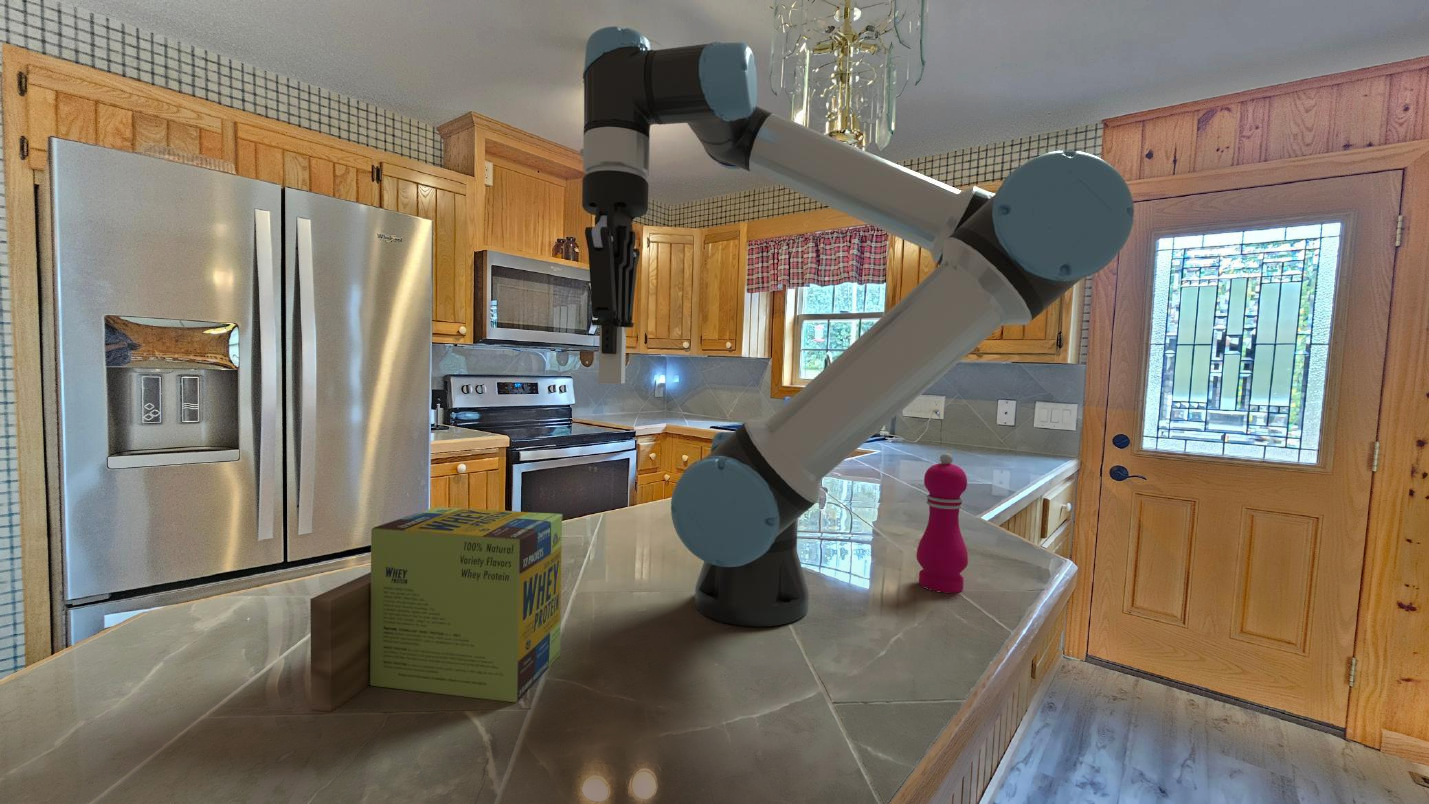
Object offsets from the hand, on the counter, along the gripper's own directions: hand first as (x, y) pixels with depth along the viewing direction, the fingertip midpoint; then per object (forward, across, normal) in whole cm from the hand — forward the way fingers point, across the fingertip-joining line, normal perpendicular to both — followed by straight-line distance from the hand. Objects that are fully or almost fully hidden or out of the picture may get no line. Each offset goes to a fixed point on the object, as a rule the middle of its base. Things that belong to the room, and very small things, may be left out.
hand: (611, 382), depth 73 cm
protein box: (+30, +12, -10) cm, 34 cm away
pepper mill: (+30, -26, +43) cm, 58 cm away
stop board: (+29, +12, -19) cm, 37 cm away
